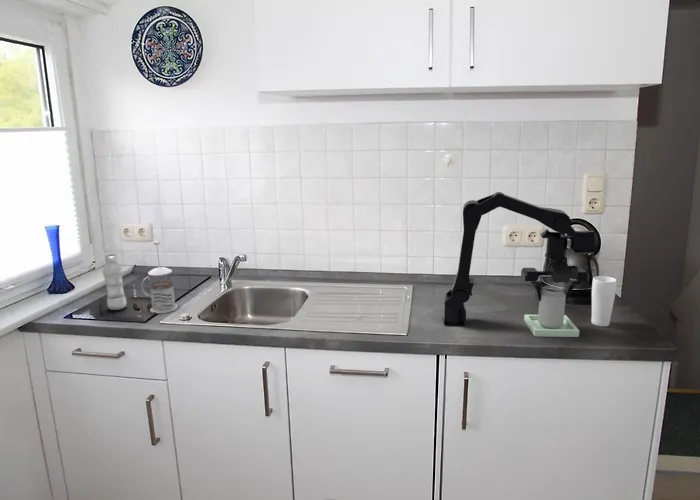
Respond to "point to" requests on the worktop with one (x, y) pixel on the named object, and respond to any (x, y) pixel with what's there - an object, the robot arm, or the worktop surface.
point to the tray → (563, 331)
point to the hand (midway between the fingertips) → (552, 301)
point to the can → (551, 307)
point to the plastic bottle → (114, 283)
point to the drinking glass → (602, 300)
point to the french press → (161, 290)
